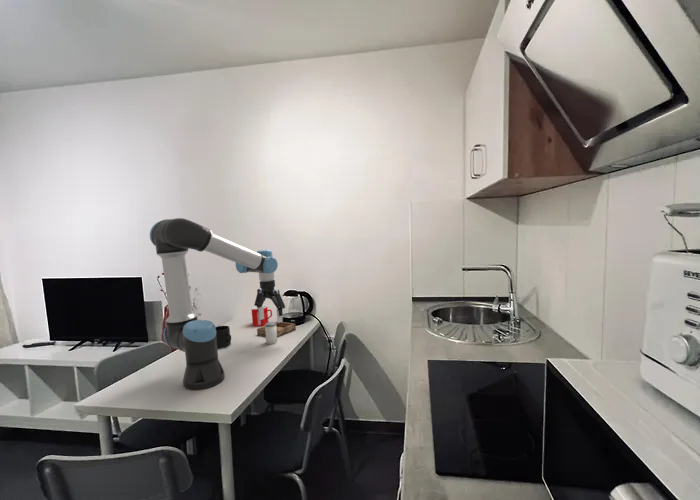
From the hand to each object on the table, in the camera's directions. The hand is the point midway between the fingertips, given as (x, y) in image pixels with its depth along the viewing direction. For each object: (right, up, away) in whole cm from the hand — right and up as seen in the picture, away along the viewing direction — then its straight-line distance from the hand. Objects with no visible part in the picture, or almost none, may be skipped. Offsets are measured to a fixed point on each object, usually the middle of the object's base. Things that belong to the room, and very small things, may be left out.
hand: (270, 320), depth 181 cm
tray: (0, -10, +17) cm, 20 cm away
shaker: (0, -11, +1) cm, 11 cm away
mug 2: (-12, -10, +35) cm, 38 cm away
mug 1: (-25, -13, 0) cm, 28 cm away
